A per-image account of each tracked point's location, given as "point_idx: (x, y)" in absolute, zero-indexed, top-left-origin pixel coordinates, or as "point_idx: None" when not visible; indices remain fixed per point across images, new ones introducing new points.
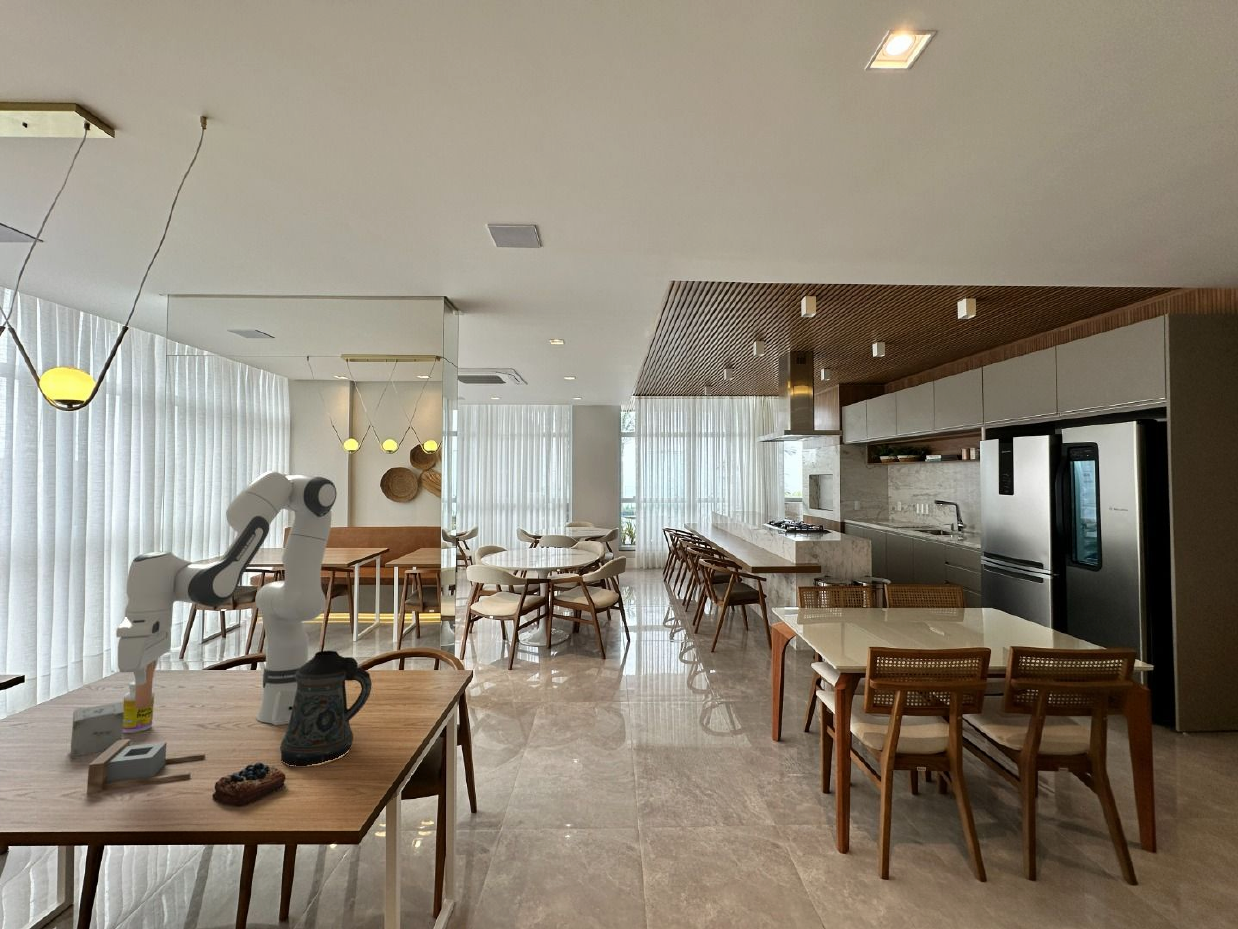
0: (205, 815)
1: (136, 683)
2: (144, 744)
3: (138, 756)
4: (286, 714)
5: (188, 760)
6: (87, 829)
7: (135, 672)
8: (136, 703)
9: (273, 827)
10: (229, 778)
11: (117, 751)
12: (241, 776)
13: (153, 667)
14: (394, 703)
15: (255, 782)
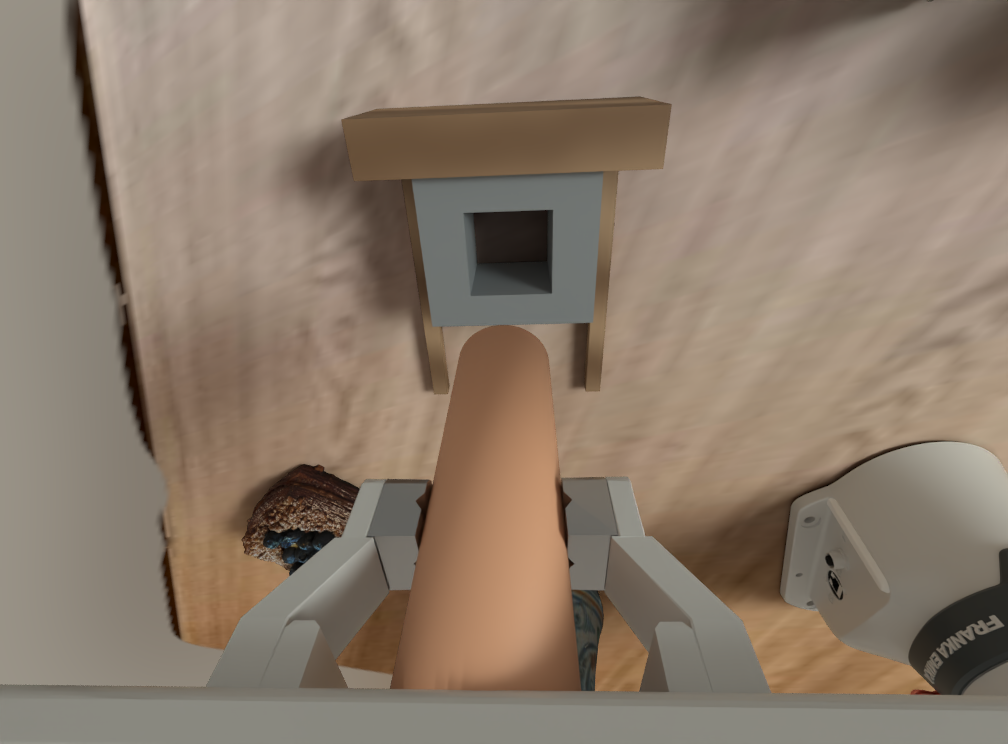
0: (222, 469)
1: (364, 494)
2: (596, 245)
3: (452, 275)
4: (831, 533)
5: (586, 347)
6: (130, 246)
7: (266, 614)
8: (461, 362)
9: (181, 566)
10: (276, 530)
11: (505, 174)
12: (294, 543)
13: (632, 619)
14: (799, 674)
15: (276, 561)
